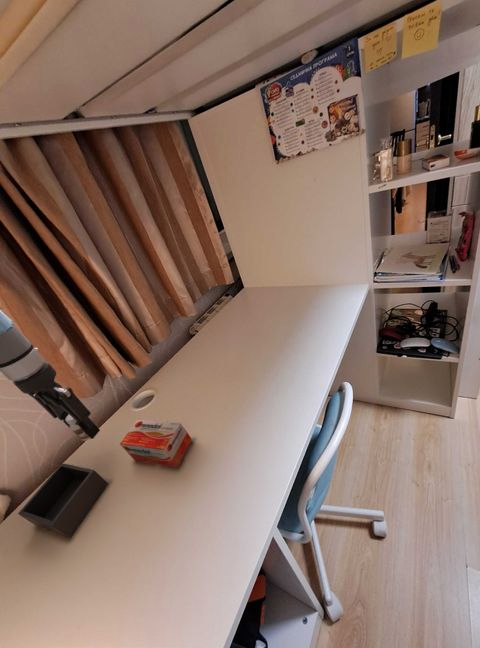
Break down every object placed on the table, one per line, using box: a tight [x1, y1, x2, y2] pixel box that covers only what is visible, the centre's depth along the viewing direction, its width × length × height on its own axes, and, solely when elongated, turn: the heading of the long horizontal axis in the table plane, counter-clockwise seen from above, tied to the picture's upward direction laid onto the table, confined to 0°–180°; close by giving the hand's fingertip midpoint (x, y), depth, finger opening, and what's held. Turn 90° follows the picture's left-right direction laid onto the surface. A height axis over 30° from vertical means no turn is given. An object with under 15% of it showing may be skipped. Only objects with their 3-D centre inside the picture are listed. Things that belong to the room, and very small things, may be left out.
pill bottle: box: [65, 415, 91, 442], centre depth 76 cm, size 4×4×8 cm
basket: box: [17, 462, 110, 539], centre depth 71 cm, size 13×13×6 cm
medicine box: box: [119, 419, 193, 468], centre depth 76 cm, size 15×8×8 cm, turn 73°
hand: (88, 433), depth 78 cm, fingers closed on pill bottle, 4 cm apart
